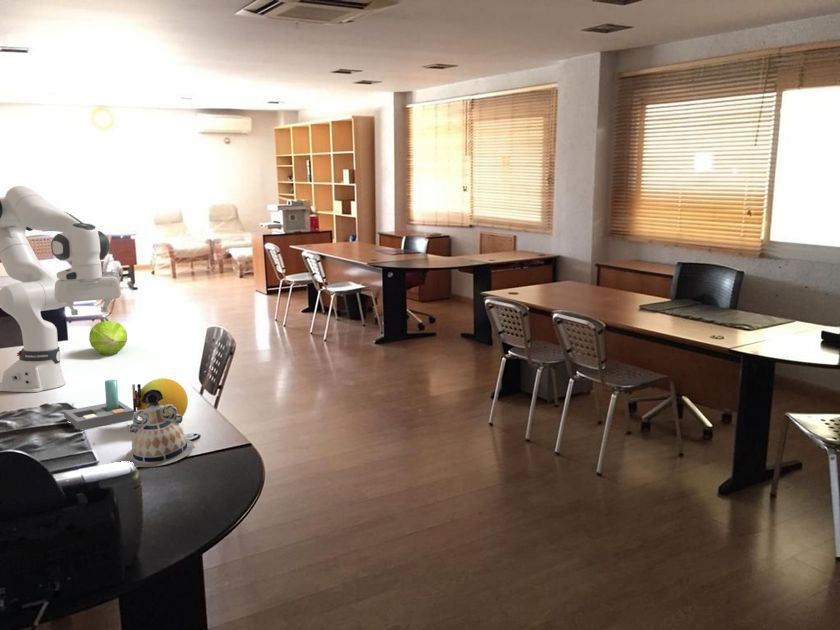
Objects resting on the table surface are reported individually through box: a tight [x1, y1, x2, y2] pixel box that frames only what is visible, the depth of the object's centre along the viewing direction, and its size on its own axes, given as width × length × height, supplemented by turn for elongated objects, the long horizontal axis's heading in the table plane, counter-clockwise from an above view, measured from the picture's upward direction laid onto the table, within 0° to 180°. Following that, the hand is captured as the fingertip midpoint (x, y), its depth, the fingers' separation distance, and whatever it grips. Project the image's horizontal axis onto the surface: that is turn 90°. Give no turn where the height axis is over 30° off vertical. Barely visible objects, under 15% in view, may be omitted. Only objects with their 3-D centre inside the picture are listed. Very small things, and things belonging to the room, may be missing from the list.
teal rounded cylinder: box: [104, 379, 119, 412], centre depth 217 cm, size 4×4×12 cm
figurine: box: [124, 389, 195, 468], centre depth 187 cm, size 18×18×20 cm
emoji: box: [131, 377, 189, 420], centre depth 210 cm, size 16×16×15 cm
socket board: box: [63, 400, 135, 431], centre depth 215 cm, size 13×17×3 cm
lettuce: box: [88, 320, 128, 356], centre depth 301 cm, size 15×23×16 cm
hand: (89, 313), depth 227 cm, fingers open, 8 cm apart
